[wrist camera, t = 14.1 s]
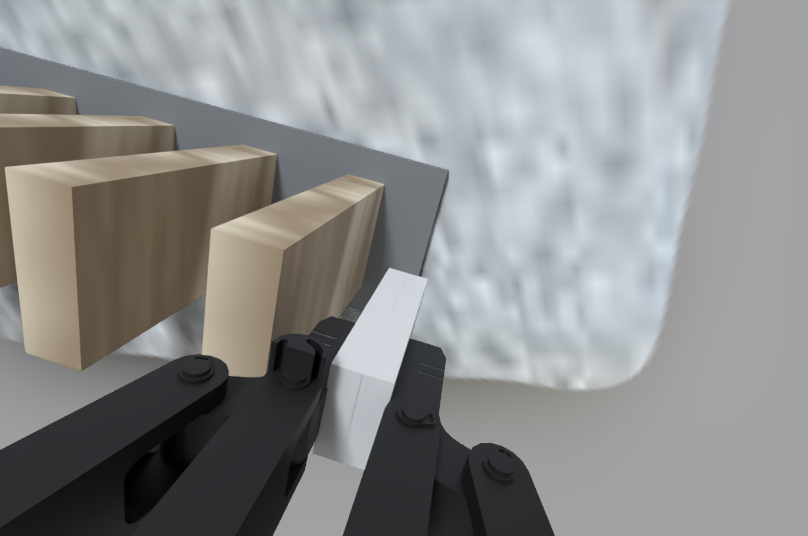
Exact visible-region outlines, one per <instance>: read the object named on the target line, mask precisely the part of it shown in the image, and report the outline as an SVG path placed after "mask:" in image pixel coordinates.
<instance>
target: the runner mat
mask: <svg viewBox="0 0 808 536" xmlns="http://www.w3.org/2000/svg"><path fill="white" fill-rule="evenodd" d="M0 85H1V86H14V87H27V88H40V89H46V90H50V91H53V92H57V93H60V94H64V95H68V96H71V97H75V98H76V115H109V116H143V117H146V118H150V119H153V120H157V121H161V122H164V123H168V124H171V125H175V126H174V151H179V150H190V149H200V148H211V147H222V146H232V145H246V146H250V147H253V148H257V149H261V150H264V151H268V152H271V153H275V154H277V162H276V170H275V177H274V185H273V193H272V201H271V205H272V204H274V203H277V202H279V201H282V200H284V199H287V198H289V197H292V196H294V195H297V194H300V193H302V192H305V191H307V190H310V189H312V188H315V187H317V186H320V185H322V184H325V183H327V182H330V181H332V180H335V179H337V178H340V177H342V176H345V175H347V174H350V175H353V176H357V177H361V178H364V179H368V180H371V181H375V182H378V183H382V184H385V185H384V189H383V194H382V198H381V203H380V207H379V211H378V216H377V220H376V225H375V229H374V234H373V238H372V242H371V247H370V251H369V256H368V260H367V264H366V269H365V273H364V278H363V282H362V286H361V288H360V289H359V290H358V292H357V293H356V295H355V296H354V297H353V299H352V300H351V301H350V303H349V304H348V306H350V307H353V308H356V309H359V310H364V309H365V307H366V305H367V304H368V302H369V300H370V299H371V297H372V295H373V294H374V292H375V290H376V289H377V287H378V285H379V284H380V282H381V280H382V279H383V277H384V276H385V274H386V272H387V271H388V269H389V268H392V269H395V270H399V271H402V272H405V273H409V274H412V275H416V276H419V274H420V270H421V267H422V263H423V260H424V256H425V252H426V249H427V245H428V242H429V238H430V235H431V231H432V227H433V224H434V220H435V217H436V213H437V210H438V206H439V202H440V199H441V195H442V192H443V188H444V185H445V181H446V177H447V174H448V170H446V169H442V168H439V167H435V166H431V165H428V164H424V163H420V162H417V161H413V160H409V159H406V158H402V157H398V156H395V155H391V154H387V153H384V152H380V151H376V150H373V149H369V148H366V147H362V146H358V145H355V144H351V143H347V142H344V141H340V140H336V139H333V138H329V137H325V136H322V135H318V134H314V133H311V132H307V131H303V130H300V129H296V128H292V127H289V126H285V125H282V124H278V123H274V122H271V121H267V120H263V119H260V118H256V117H252V116H249V115H245V114H241V113H238V112H234V111H230V110H227V109H223V108H219V107H216V106H212V105H209V104H205V103H201V102H198V101H194V100H190V99H187V98H183V97H179V96H176V95H172V94H168V93H165V92H161V91H157V90H154V89H150V88H146V87H143V86H139V85H135V84H132V83H128V82H125V81H121V80H117V79H114V78H110V77H106V76H103V75H99V74H95V73H92V72H88V71H84V70H81V69H77V68H73V67H70V66H66V65H62V64H59V63H55V62H52V61H48V60H44V59H41V58H37V57H33V56H30V55H26V54H22V53H19V52H15V51H11V50H8V49H4V48H0Z"/></svg>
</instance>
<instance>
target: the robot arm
mask: <svg viewBox="0 0 808 536" xmlns="http://www.w3.org/2000/svg"><path fill="white" fill-rule="evenodd" d="M427 280H428V279H426V278H423V277H419V276H416V275H412V274H409V273H405V272H402V271H399V270H395V269H392V268H389V269H388V271H387V272H386V274H385V276H384V277H383V279H382V280H381V282H380V284H379V285H378V287H377V289H376V290H375V292H374V294H373V295H372V297H371V299H370V300H369V302H368V304H367V305H366V307H365V309H364V310H363V312H362V314H361V315H360V317H359V319H358V320H357V322H356V323H353V322H350V321H346V320H343V319H340V318H336V317H333V316H331V317H328V318H326V319H324V320H322V321H320V322H319V323H318V324H317V325H316V327H315V328H314V329H313V330H312V332H311V333H310V334H309V335H304V334H287V335H283V336H279V337H278V338H276V339H275V340H273V341H272V344H271V351H270V358H269V365H268V371H267V373H266V374H265V375H264V376H262V377H239V376H229V370H228V367H227V364H226V363H224V362H223V361H222V360H221V359H219V358H216V357H213V356H210V355H199V354H197V355H189V356H184V357H181V358H179V359H176V360H174V361H172V362H170V363H168V364H166V365H164V366H162V367H160V368H159V369H156V370H154V371H152V372H151V373H148V374H147V375H145V376H143V377H141V378H139V379H137V380H135V381H133V382H131V383H129V384H127V385H125V386H123V387H121V388H120V389H117V390H115V391H114V392H112V393H110V394H108V395H106V396H104V397H102V398H100V399H98V400H96V401H94V402H92V403H90V404H88V405H86V406H85V407H83V408H81V409H79V410H77V411H75V412H73V413H71V414H69V415H67V416H65V417H63V418H61V419H59V420H57V421H55V422H53V423H52V424H50V425H48V426H46V427H44V428H42V429H40V430H38V431H36V432H34V433H32V434H30V435H28V436H26V437H25V438H22V439H21V440H19V441H17V442H15V443H13V444H11V445H9V446H7V447H5V448H3V449H1V450H0V536H273V534H274V532H275V530H276V528H277V526H278V524H279V522H280V520H281V518H282V516H283V514H284V512H285V509H286V507H287V506H288V503H289V501H290V499H291V497H292V495H293V493H294V491H295V489H296V487H297V485H298V483H299V481H300V479H301V477H302V475H303V473H304V471H305V467H306V462H307V457H308V454H309V452H310V450H311V448H312V446H313V444H314V442H315V444H314V449H313V453H314V454H316V455H320V456H323V457H326V458H329V459H332V460H335V461H338V462H341V463H344V464H347V465H350V466H353V467H356V468H359V469H362V470H364V473H363V476H362V479H361V482H360V485H359V489H358V491H357V494H356V497H355V500H354V503H353V506H352V509H351V512H350V515H349V519H348V522H347V524H346V528H345V531H344V534H343V536H555V535H554V533H553V530H552V528H551V525H550V523H549V520H548V518H547V515H546V513H545V510H544V508H543V505H542V503H541V501H540V498H539V496H538V493H537V491H536V488H535V486H534V483H533V481H532V478H531V476H530V473H529V471H528V470H527V468H526V466H525V465H524V463H523V462H522V461H521V459H520V458H518V457H517V456H516V455H515V454H514V453H513V452H511V451H510V450H508V449H506V448H504V447H502V446H500V445H496V444H493V443H480V444H478V445H476V446H474V447H473V448H472V450H470V449H468V448H467V447H465V446H464V445H462V444H460V443H459V442H457V441H456V440H455V439H453V438H452V437H451V436H450V435H449V434H448V433H447V432H446V431H445V430H444V428H443V426H442V425H441V423H440V417H439V407H440V400H441V393H442V385H443V378H444V370H445V363H446V358H445V356H444V354H443V351H442V349H441V348H440V347H436V346H433V345H430V344H426V343H423V342H420V341H417V340H413V339H411V336H412V333H413V329H414V326H415V322H416V319H417V315H418V312H419V308H420V305H421V301H422V298H423V294H424V291H425V287H426V284H427Z"/></svg>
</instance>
